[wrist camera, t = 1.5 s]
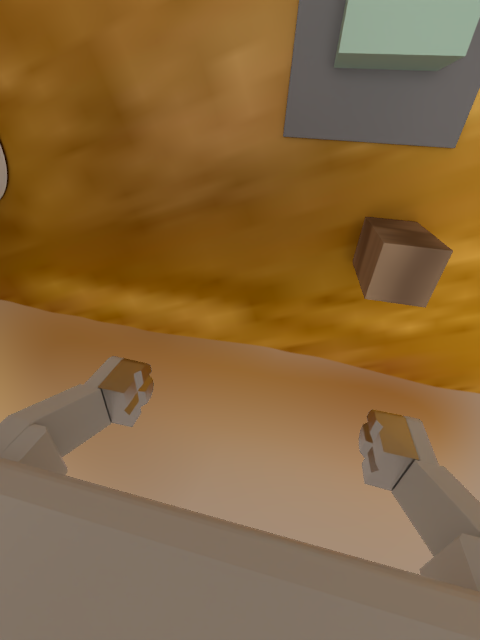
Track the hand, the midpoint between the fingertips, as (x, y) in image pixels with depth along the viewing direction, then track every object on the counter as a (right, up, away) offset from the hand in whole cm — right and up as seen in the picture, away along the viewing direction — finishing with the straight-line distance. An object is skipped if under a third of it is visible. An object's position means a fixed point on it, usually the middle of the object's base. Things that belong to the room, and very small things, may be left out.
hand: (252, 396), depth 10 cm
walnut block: (+15, +11, +20) cm, 27 cm away
